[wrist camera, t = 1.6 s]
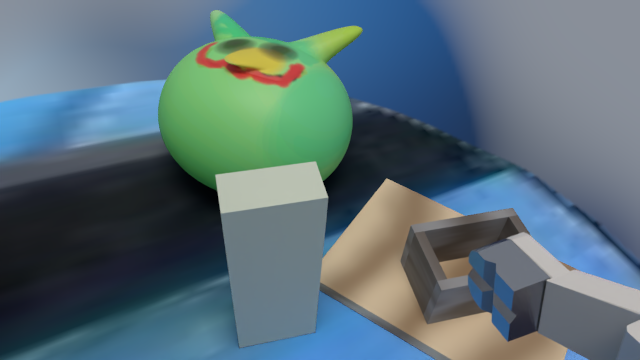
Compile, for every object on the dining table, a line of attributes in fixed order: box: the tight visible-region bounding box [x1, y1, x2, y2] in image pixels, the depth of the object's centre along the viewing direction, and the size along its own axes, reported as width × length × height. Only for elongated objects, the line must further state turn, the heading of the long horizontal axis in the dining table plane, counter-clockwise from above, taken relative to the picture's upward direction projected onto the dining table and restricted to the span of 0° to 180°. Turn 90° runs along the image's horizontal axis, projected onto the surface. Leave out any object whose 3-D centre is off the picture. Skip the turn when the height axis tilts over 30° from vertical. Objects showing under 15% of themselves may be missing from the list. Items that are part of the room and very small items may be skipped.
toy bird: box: [158, 10, 363, 190], centre depth 47 cm, size 18×17×15 cm
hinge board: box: [319, 179, 579, 360], centre depth 41 cm, size 20×14×6 cm
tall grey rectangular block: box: [215, 161, 328, 348], centre depth 35 cm, size 6×4×16 cm
